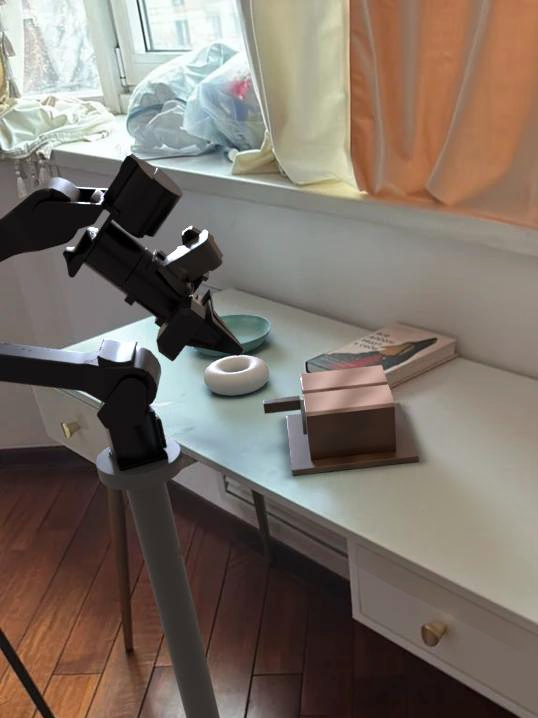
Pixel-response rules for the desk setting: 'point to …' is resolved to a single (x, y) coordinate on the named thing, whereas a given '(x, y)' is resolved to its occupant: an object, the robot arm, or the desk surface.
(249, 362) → the donut
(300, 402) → the knife
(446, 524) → the desk surface
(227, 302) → the desk surface
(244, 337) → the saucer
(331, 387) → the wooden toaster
